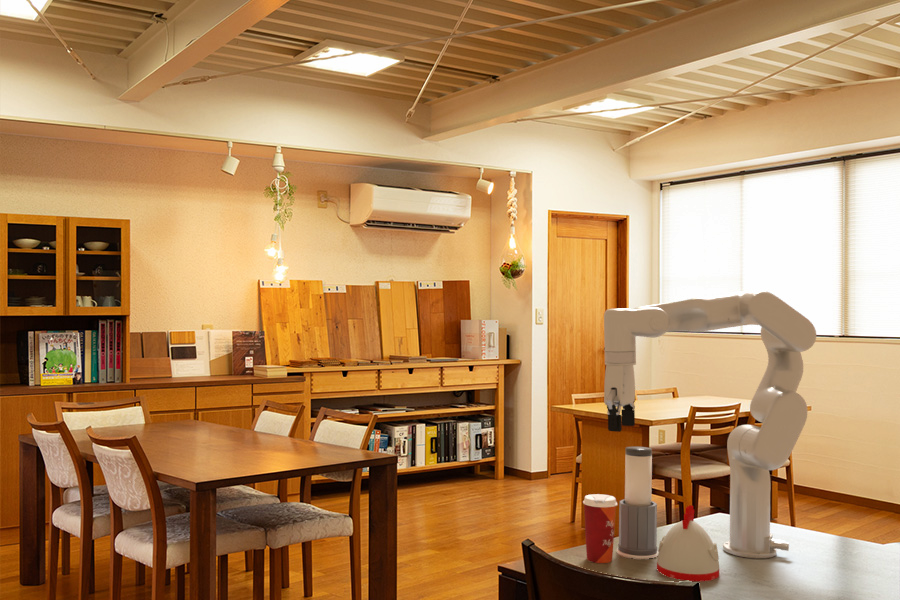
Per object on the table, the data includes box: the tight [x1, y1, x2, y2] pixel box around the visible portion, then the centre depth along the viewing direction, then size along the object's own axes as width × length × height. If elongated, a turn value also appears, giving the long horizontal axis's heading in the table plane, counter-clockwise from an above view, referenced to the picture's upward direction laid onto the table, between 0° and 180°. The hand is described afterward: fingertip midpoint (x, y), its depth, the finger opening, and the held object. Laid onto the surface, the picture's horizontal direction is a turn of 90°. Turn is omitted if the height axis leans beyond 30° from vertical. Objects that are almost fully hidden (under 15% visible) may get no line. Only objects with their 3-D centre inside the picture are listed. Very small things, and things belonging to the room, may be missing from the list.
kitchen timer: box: [656, 504, 720, 582], centre depth 193 cm, size 14×14×15 cm
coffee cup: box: [582, 493, 618, 564], centre depth 201 cm, size 8×8×15 cm
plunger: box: [624, 446, 653, 506], centre depth 207 cm, size 6×6×17 cm
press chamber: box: [616, 498, 659, 560], centre depth 206 cm, size 10×10×12 cm
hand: (621, 428), depth 205 cm, fingers open, 9 cm apart
